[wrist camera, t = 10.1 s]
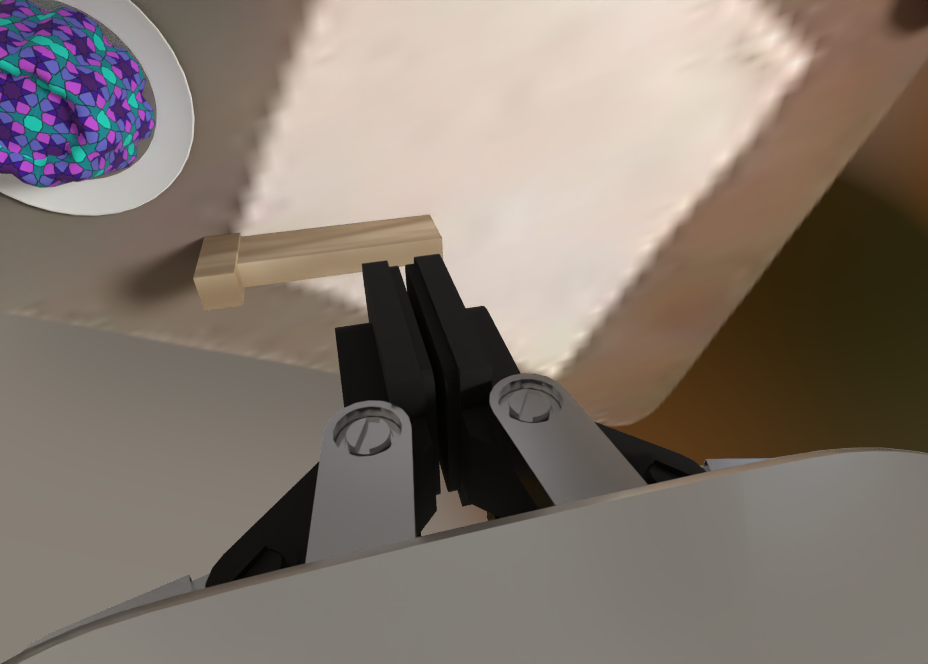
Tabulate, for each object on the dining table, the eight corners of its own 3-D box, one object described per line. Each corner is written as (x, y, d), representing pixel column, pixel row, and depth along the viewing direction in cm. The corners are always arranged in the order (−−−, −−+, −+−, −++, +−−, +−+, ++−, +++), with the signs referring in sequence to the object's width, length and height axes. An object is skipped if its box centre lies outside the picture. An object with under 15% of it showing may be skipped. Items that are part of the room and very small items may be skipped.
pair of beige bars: (92, -126, 23) (52, -139, 19) (412, -124, 26) (435, -135, 22) (213, 267, 34) (204, 310, 30) (431, 239, 37) (448, 276, 33)
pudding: (230, 46, 28) (221, 65, 24) (155, 243, 33) (136, 288, 28) (-76, -124, 22) (-159, -138, 18) (-116, 145, 27) (-189, 183, 23)
